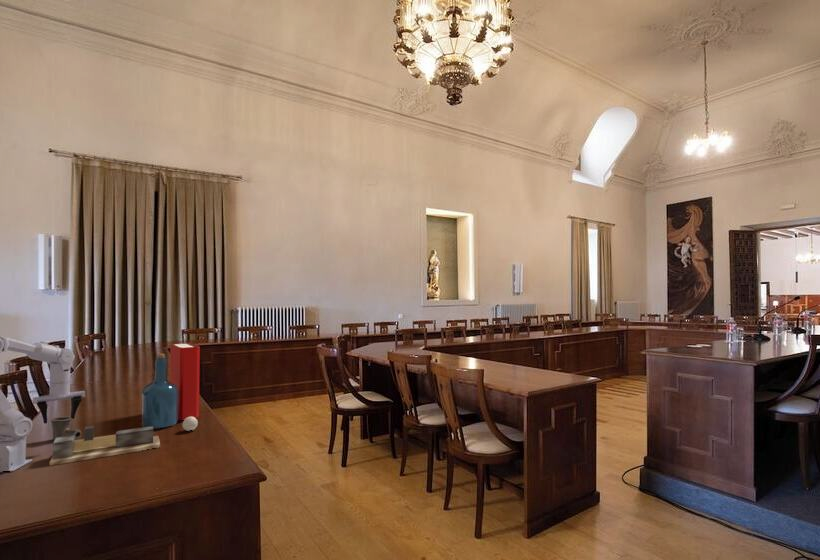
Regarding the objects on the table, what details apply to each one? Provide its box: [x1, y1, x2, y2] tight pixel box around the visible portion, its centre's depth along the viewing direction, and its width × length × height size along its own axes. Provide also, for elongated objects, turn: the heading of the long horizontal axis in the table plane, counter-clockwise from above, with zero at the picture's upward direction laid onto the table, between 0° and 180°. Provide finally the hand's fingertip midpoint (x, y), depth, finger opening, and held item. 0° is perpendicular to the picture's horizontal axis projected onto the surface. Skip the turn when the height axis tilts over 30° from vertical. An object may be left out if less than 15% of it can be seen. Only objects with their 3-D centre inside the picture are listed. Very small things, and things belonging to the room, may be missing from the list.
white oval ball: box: [181, 417, 201, 432], centre depth 179 cm, size 8×6×6 cm
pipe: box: [50, 416, 83, 441], centre depth 169 cm, size 6×13×8 cm, turn 74°
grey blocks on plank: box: [49, 426, 161, 467], centre depth 156 cm, size 31×12×6 cm, turn 122°
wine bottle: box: [141, 353, 179, 430], centre depth 187 cm, size 14×13×30 cm
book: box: [169, 341, 201, 421], centre depth 206 cm, size 27×8×32 cm, turn 37°
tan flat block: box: [73, 425, 116, 452], centre depth 154 cm, size 20×3×7 cm, turn 122°
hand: (59, 420), depth 157 cm, fingers open, 7 cm apart
